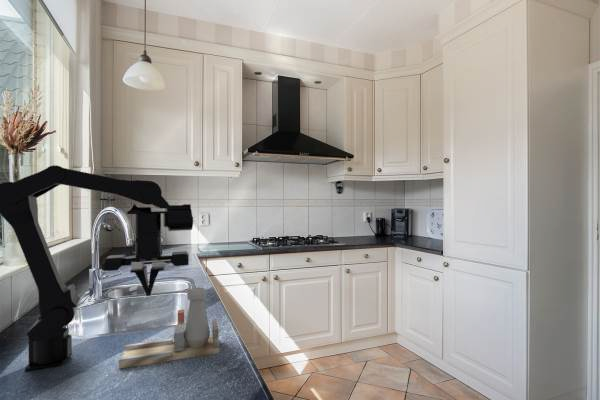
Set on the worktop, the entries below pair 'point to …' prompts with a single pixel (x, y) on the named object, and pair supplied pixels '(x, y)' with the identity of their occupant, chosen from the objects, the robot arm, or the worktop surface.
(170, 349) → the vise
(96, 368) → the worktop surface
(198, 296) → the salt shaker
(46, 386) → the worktop surface
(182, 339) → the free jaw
